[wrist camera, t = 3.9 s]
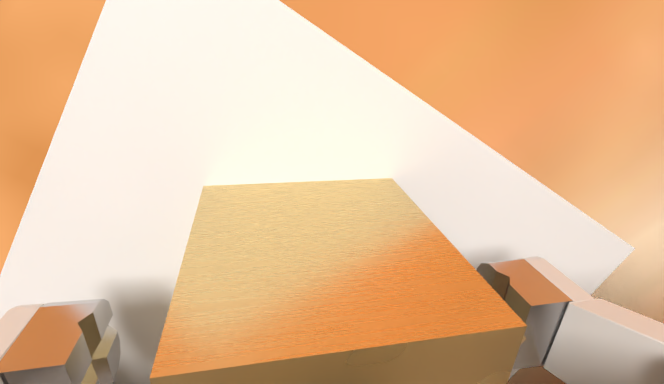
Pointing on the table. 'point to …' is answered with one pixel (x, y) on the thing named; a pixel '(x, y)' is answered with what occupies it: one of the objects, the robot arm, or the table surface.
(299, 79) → the shaft bench
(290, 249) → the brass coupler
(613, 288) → the table surface
